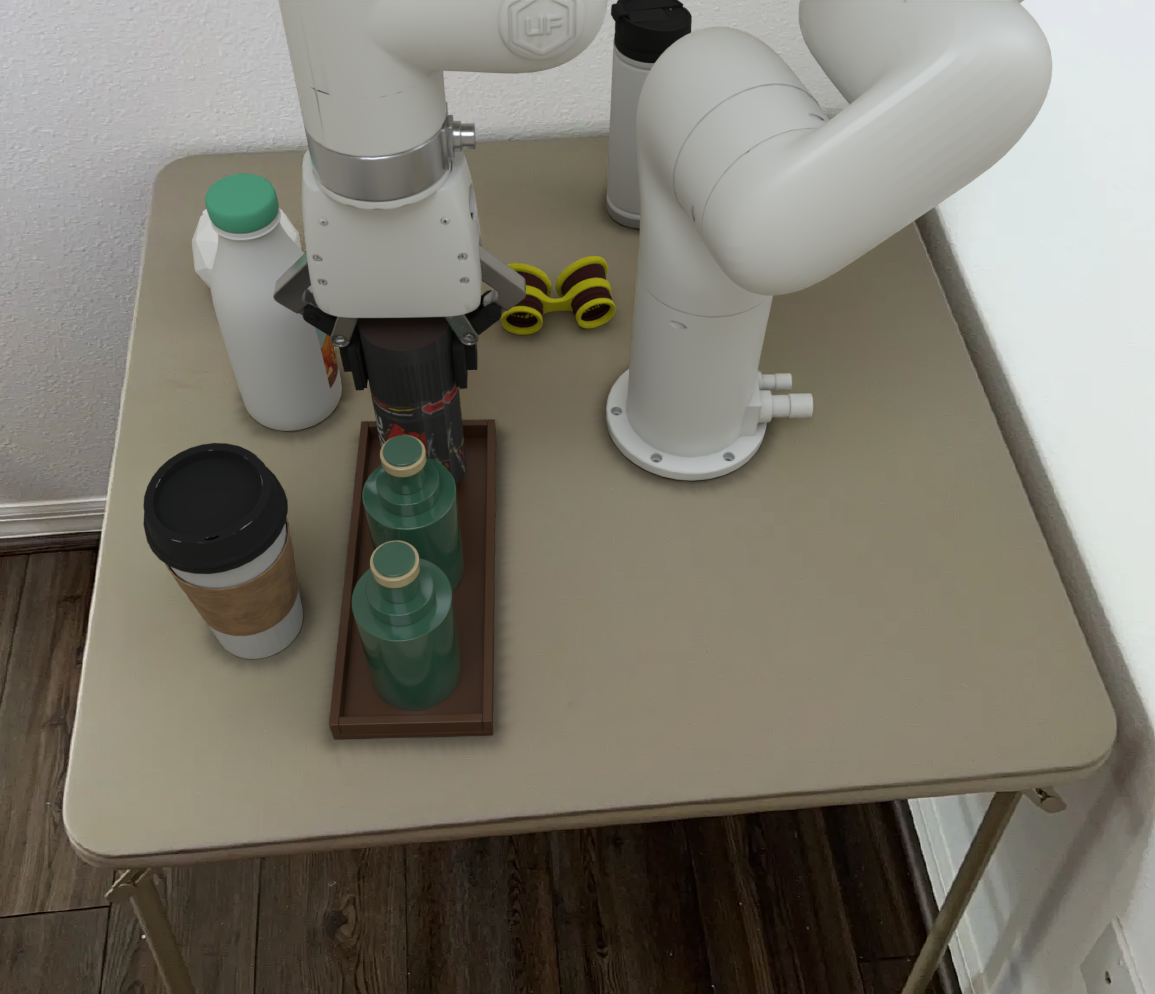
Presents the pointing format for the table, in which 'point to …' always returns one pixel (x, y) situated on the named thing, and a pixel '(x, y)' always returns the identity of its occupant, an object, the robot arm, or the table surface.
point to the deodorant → (415, 385)
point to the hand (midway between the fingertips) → (412, 372)
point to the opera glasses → (562, 296)
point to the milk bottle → (266, 310)
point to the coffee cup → (228, 545)
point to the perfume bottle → (208, 243)
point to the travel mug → (635, 90)
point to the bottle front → (407, 628)
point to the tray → (473, 599)
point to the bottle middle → (415, 505)
